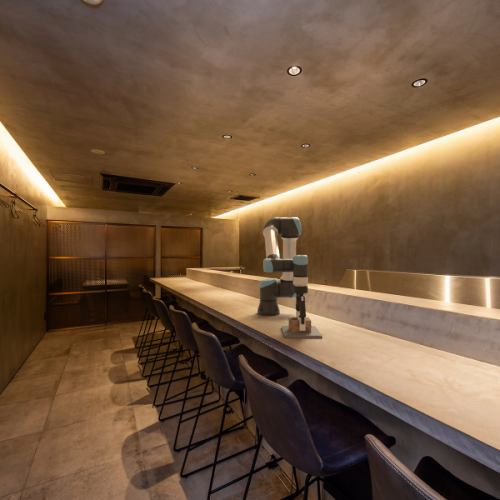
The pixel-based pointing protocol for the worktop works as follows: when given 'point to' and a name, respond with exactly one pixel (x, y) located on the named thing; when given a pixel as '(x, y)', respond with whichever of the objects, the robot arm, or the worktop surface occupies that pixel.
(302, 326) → the robot arm
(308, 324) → the open wooden box
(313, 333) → the base
